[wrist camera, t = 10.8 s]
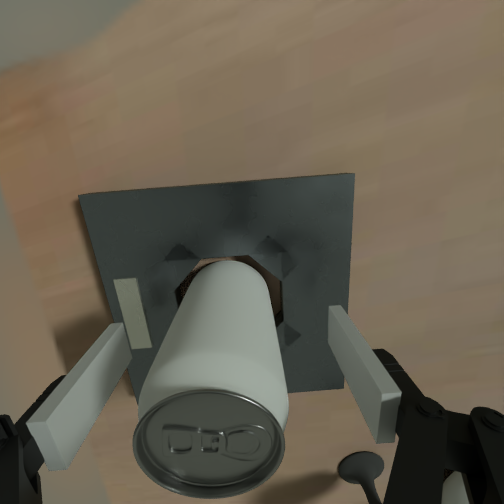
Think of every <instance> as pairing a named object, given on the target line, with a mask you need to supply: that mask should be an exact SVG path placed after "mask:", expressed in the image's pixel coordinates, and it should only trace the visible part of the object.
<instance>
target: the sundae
mask: <svg viewBox="0 0 504 504" xmlns="http://www.w3.org/2000/svg"><path fill="white" fill-rule="evenodd" d="M383 469H384V462H383V460H382V458H381V457H380V456H379V455H377V454H375V453H372V452H358V453H354V454H352V455H350V456H348V457H346V458H345V459H344V460H343V461H342V462H341V464H340V466H339V474H340V476H341V477H342V478H343V479H344V480H345V481H347V482H349V483H353V484H361V486H362V488H363V490H364V492H365V494H366V497H367V499H368V502H369V504H382V503H381V501H380V499H379V496H378V494H377V492H376V488H375V485H374V479H376V478H377V477H378V476H379V475H380V474H381V473H382V471H383Z"/></svg>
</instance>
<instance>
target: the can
mask: <svg viewBox="0 0 504 504" xmlns="http://www.w3.org/2000/svg"><path fill="white" fill-rule="evenodd" d="M288 413H289V403H288V394H287V387H286V381H285V376H284V370H283V364H282V359H281V354H280V348H279V343H278V337H277V332H276V327H275V321H274V316H273V311H272V306H271V301H270V296H269V291H268V287H267V284H266V282H265V280H264V279H263V277H262V276H261V275H260V274H259V272H257V271H256V270H255V269H254V268H252V267H251V266H249V265H247V264H245V263H242V262H238V261H231V260H225V261H218V262H215V263H212V264H210V265H208V266H206V267H204V268H203V269H202V270H200V271H199V272H198V273H197V274H196V276H195V277H194V279H193V280H192V282H191V284H190V286H189V288H188V290H187V292H186V294H185V296H184V298H183V300H182V302H181V304H180V306H179V309H178V311H177V313H176V315H175V317H174V319H173V321H172V323H171V325H170V328H169V330H168V332H167V334H166V336H165V338H164V340H163V342H162V345H161V347H160V349H159V351H158V353H157V355H156V357H155V360H154V362H153V364H152V366H151V368H150V370H149V373H148V375H147V377H146V380H145V382H144V384H143V387H142V390H141V393H140V397H139V403H138V418H139V422H138V424H137V426H136V429H135V431H134V435H133V452H134V456H135V459H136V461H137V463H138V465H139V466H140V468H141V469H142V471H143V472H144V473H145V474H146V475H147V476H148V477H149V478H150V479H151V480H153V481H154V482H155V483H157V484H158V485H160V486H161V487H163V488H165V489H167V490H169V491H172V492H174V493H177V494H180V495H184V496H188V497H194V498H203V499H218V498H226V497H232V496H236V495H240V494H243V493H245V492H248V491H250V490H252V489H254V488H256V487H258V486H260V485H261V484H263V483H264V482H265V481H267V480H268V479H269V478H270V477H271V476H272V475H273V474H274V473H275V472H276V470H277V469H278V467H279V466H280V464H281V462H282V459H283V456H284V451H285V439H284V434H283V433H284V430H285V427H286V423H287V419H288Z"/></svg>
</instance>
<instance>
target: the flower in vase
mask: <svg viewBox="0 0 504 504" xmlns="http://www.w3.org/2000/svg"><path fill="white" fill-rule="evenodd" d="M441 504H469V501H468V498H467V494H466V490H465V486H464V482H463V479H462V475H461V472H457V471H454V472H453V473H452V474H451V475H450V476H449V477H448V478H447V479H446V480H445V482H444V483H443V491H442V503H441Z"/></svg>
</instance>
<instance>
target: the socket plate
mask: <svg viewBox="0 0 504 504" xmlns="http://www.w3.org/2000/svg"><path fill="white" fill-rule="evenodd" d="M354 182H355V173H339V174H327V175H314V176H301V177H288V178H275V179H263V180H250V181H237V182H224V183H211V184H198V185H186V186H173V187H160V188H147V189H134V190H122V191H109V192H96V193H87V194H82V195H78V197H79V201H80V204H81V208H82V211H83V215H84V218H85V222H86V225H87V229H88V232H89V236H90V239H91V243H92V246H93V250H94V253H95V257H96V260H97V264H98V267H99V271H100V274H101V278H102V281H103V285H104V289H105V292H106V296H107V299H108V303H109V306H110V310H111V313H112V317H113V320H114V323H123V326H124V329H125V333H126V337H127V340H128V344H129V348H130V351H131V355H132V359H131V361H130V363H129V365H128V366H127V369H128V373H129V376H130V380H131V383H132V387H133V390H134V394H135V397H136V401H137V404H138V403H139V397H140V393H141V390H142V387H143V384H144V382H145V380H146V377H147V375H148V373H149V370H150V368H151V366H152V364H153V362H154V360H155V357H156V355H157V353H158V351H159V349H160V347H161V345H162V342H163V340H164V338H165V336H166V334H167V332H168V330H169V328H170V325H171V323H172V321H173V319H174V317H175V315H176V313H177V311H178V309H179V306H180V304H181V302H182V295H181V289H180V284H181V282H182V281H183V280H184V279H185V278H186V276H187V275H188V274H189V273H190V272H191V271H192V269H193V268H194V267H195V266H196V265H197V263H198V262H199V261H200V260H201V259H203V258H216V257H228V256H241V255H249V256H250V257H252V258H253V259H254V260H255V261H257V262H258V263H259V264H260V265H262V266H263V267H264V268H265V269H267V270H268V271H269V272H270V273H272V274H273V275H274V276H275V277H277V278H278V279H279V280H280V294H281V311H280V312H279V313H278V314H277V315H276V316H275V317H274V321H275V327H276V332H277V337H278V343H279V348H280V354H281V359H282V364H283V370H284V376H285V381H286V387H287V393H295V392H307V391H319V390H331V389H344V375H343V373H342V371H341V369H340V367H339V364H338V362H337V360H336V358H335V356H334V354H333V352H332V350H331V348H330V346H329V344H328V315H329V306H335V305H341V306H342V308H343V309H344V310H345V312H346V313H347V315H348V297H349V278H350V259H351V239H352V220H353V201H354Z"/></svg>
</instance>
